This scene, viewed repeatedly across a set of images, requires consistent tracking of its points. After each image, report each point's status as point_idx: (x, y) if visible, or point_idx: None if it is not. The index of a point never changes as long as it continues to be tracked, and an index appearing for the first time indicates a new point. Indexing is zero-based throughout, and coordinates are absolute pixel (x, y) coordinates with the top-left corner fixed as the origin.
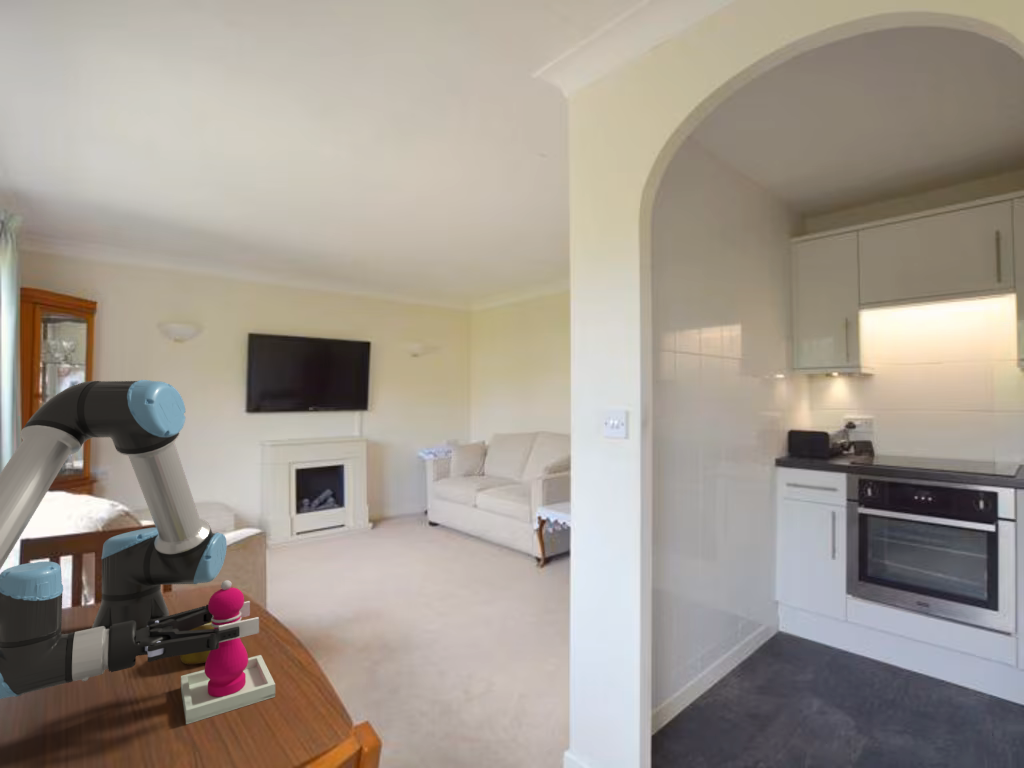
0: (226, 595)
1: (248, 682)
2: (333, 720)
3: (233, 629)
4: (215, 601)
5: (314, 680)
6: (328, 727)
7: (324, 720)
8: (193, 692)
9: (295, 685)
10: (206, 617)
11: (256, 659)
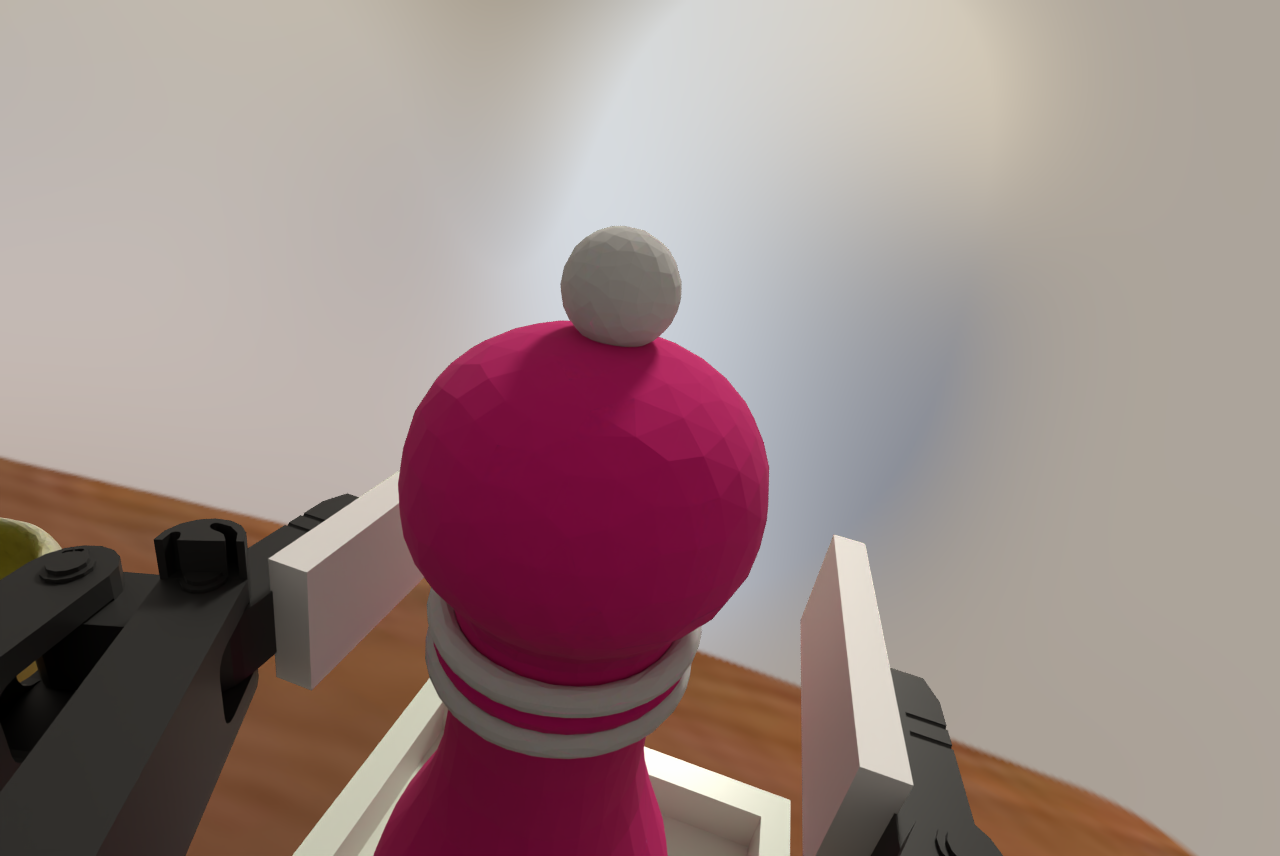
0: (735, 410)
1: None
2: (1087, 811)
3: (933, 718)
4: (693, 506)
5: (744, 679)
6: (1138, 853)
7: (1077, 831)
8: None
9: (731, 735)
10: (222, 665)
11: (443, 703)
